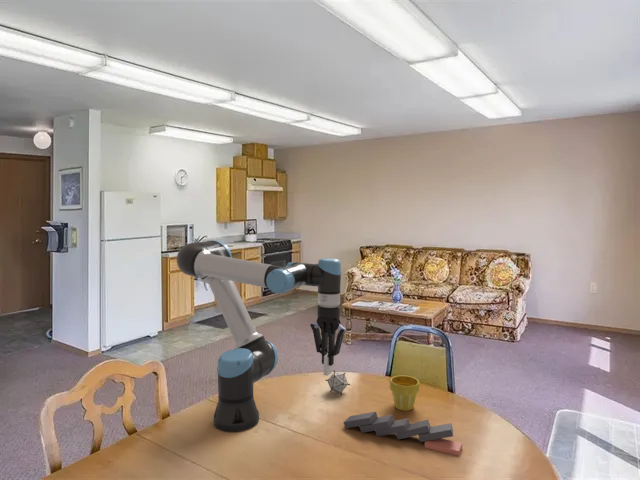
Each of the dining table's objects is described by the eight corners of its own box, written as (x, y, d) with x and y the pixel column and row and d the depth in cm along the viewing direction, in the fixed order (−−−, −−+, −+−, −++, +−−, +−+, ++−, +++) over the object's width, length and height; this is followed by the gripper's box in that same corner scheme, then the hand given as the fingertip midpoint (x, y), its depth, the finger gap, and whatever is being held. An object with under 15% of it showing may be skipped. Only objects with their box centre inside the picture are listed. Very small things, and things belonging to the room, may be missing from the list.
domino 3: (374, 430, 143) (404, 425, 139) (379, 423, 148) (408, 418, 144) (377, 436, 143) (406, 431, 139) (381, 429, 148) (410, 424, 144)
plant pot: (424, 410, 161) (425, 383, 161) (399, 415, 158) (399, 387, 157) (408, 398, 171) (409, 373, 170) (384, 403, 167) (384, 377, 166)
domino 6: (428, 441, 141) (462, 449, 136) (424, 449, 137) (458, 457, 132) (428, 435, 141) (462, 443, 136) (424, 442, 136) (458, 451, 132)
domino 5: (418, 435, 138) (451, 429, 136) (419, 428, 143) (451, 423, 140) (420, 441, 138) (453, 436, 135) (421, 435, 143) (453, 429, 140)
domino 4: (395, 433, 141) (427, 425, 138) (397, 426, 145) (428, 419, 143) (398, 439, 140) (429, 432, 138) (400, 433, 145) (430, 425, 143)
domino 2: (359, 426, 146) (387, 421, 141) (364, 420, 150) (392, 414, 146) (361, 432, 145) (389, 427, 141) (367, 425, 150) (394, 420, 145)
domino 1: (343, 422, 149) (369, 417, 144) (350, 416, 153) (375, 411, 148) (345, 428, 149) (371, 423, 144) (352, 421, 153) (377, 417, 148)
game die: (342, 400, 178) (357, 381, 178) (332, 400, 172) (348, 380, 171) (327, 384, 184) (343, 365, 183) (317, 383, 177) (332, 363, 176)
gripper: (306, 304, 151) (305, 373, 153) (341, 309, 145) (339, 381, 147) (317, 300, 158) (316, 366, 160) (351, 305, 152) (349, 374, 154)
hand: (327, 373), depth 154 cm, fingers closed
